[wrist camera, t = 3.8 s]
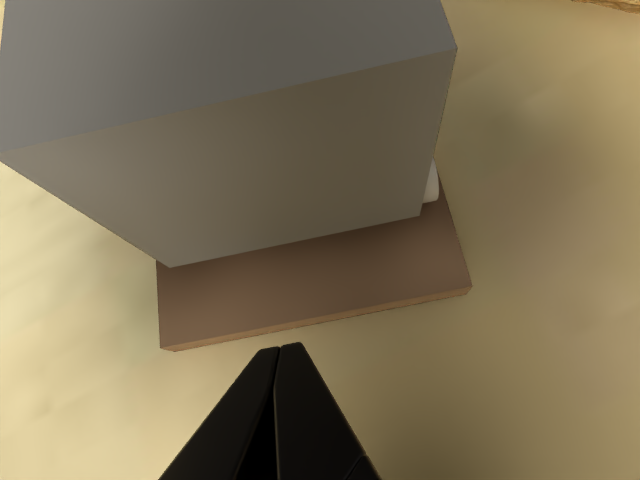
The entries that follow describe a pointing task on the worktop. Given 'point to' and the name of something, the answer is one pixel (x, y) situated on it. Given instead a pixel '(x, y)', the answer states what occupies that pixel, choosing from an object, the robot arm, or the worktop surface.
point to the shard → (618, 4)
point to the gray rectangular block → (225, 115)
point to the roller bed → (314, 279)
